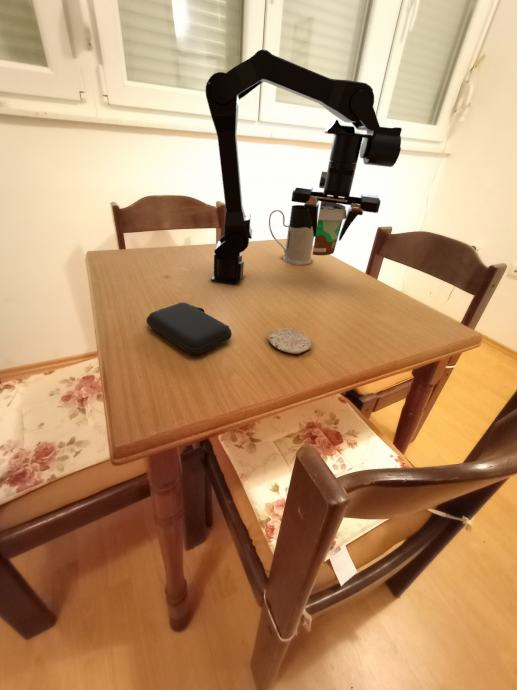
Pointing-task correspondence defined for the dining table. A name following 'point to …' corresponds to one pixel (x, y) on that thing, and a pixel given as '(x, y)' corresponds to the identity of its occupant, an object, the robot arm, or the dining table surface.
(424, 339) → the dining table surface
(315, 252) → the food container
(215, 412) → the dining table surface
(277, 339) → the flatbread
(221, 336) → the carrying case
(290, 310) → the dining table surface
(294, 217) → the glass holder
